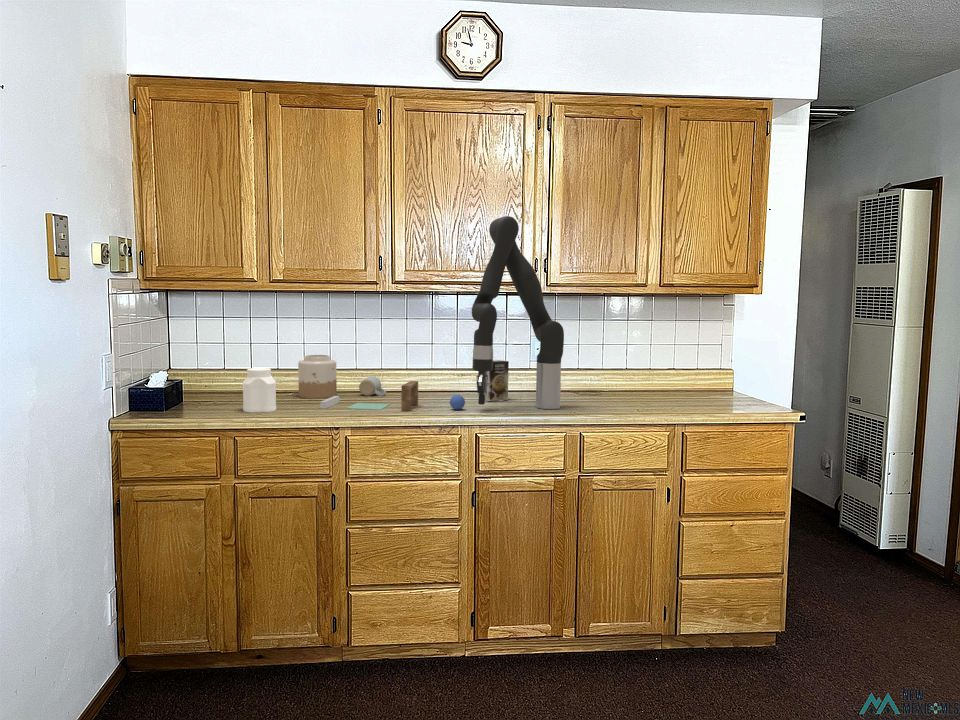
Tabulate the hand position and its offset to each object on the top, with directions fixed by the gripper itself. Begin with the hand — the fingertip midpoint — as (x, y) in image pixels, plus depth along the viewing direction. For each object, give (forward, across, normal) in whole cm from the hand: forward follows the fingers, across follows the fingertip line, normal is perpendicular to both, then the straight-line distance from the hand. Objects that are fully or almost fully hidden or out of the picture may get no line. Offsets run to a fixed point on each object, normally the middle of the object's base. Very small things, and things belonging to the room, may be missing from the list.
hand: (481, 404), depth 275 cm
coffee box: (+2, +26, -2) cm, 26 cm away
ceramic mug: (+3, +30, +50) cm, 58 cm away
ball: (0, 0, +9) cm, 9 cm away
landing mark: (+3, 0, +43) cm, 43 cm away
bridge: (+3, 0, +27) cm, 27 cm away
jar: (+4, -16, +79) cm, 81 cm away
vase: (+4, +22, +71) cm, 74 cm away
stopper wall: (+3, 0, +58) cm, 58 cm away
